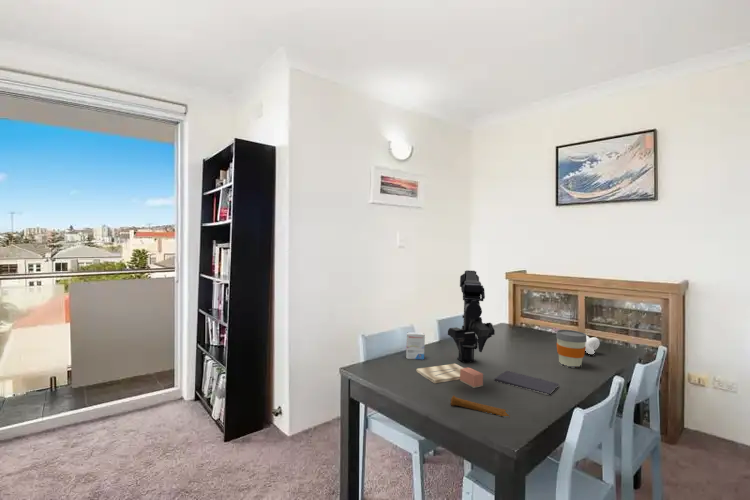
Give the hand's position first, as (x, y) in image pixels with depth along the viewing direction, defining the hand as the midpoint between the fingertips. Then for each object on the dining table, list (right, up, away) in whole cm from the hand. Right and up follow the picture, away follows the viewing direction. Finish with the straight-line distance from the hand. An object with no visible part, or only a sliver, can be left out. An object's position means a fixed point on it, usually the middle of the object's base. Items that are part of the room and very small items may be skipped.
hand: (470, 353), depth 148 cm
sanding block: (0, -12, 0) cm, 12 cm away
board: (-8, -12, +10) cm, 17 cm away
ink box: (-19, -11, +31) cm, 38 cm away
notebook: (+23, -13, +1) cm, 26 cm away
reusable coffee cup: (+53, -13, +25) cm, 60 cm away
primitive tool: (-2, -13, -22) cm, 26 cm away
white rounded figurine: (+72, -13, +44) cm, 85 cm away
